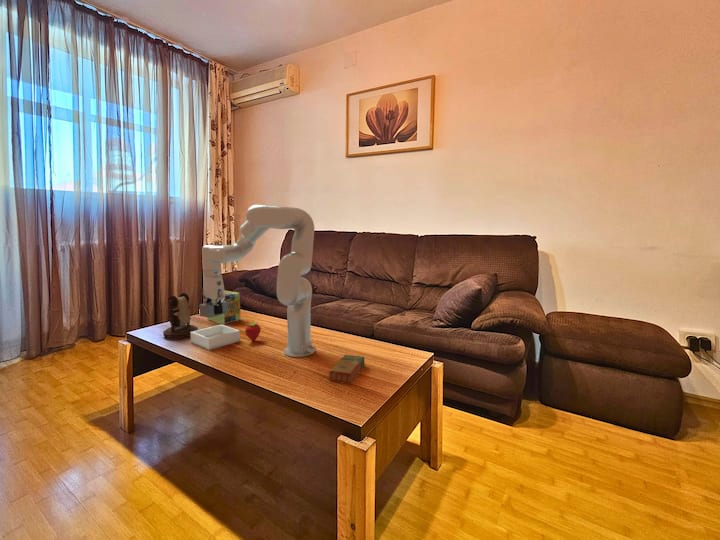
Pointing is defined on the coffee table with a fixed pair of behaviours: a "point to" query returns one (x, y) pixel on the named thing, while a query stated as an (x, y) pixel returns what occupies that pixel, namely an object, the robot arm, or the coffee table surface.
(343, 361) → the carton
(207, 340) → the tote
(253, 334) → the strawberry
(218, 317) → the protein box
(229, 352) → the coffee table surface
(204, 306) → the block
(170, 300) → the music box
